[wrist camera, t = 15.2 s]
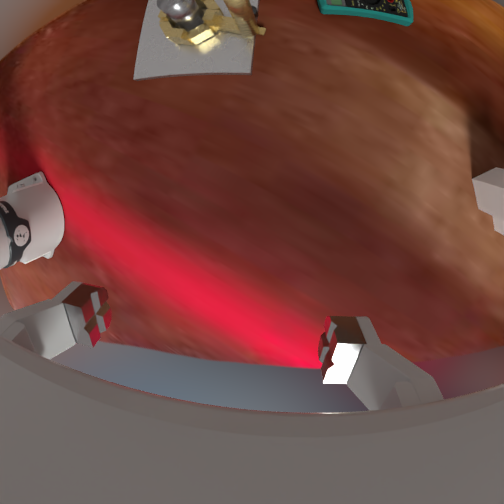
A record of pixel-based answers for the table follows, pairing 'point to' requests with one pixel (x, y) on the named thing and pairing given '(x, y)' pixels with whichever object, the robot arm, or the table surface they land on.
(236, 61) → the spigot base
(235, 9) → the brass metal fixture
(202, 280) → the table surface
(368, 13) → the digital multimeter
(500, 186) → the corner bracket
